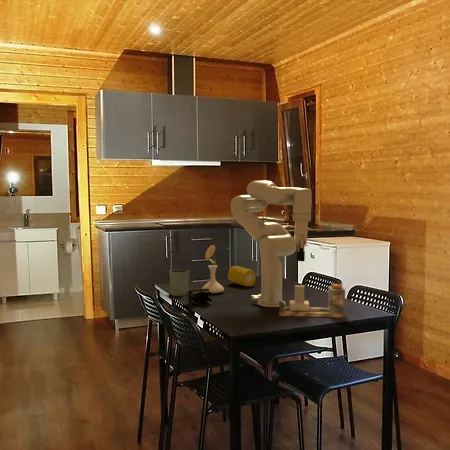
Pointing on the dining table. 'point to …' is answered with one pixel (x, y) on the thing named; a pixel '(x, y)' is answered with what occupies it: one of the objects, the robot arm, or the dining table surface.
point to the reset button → (336, 286)
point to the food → (241, 276)
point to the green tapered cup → (179, 282)
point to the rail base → (334, 308)
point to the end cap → (199, 297)
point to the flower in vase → (212, 273)
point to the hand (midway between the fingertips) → (300, 260)
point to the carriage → (299, 300)
